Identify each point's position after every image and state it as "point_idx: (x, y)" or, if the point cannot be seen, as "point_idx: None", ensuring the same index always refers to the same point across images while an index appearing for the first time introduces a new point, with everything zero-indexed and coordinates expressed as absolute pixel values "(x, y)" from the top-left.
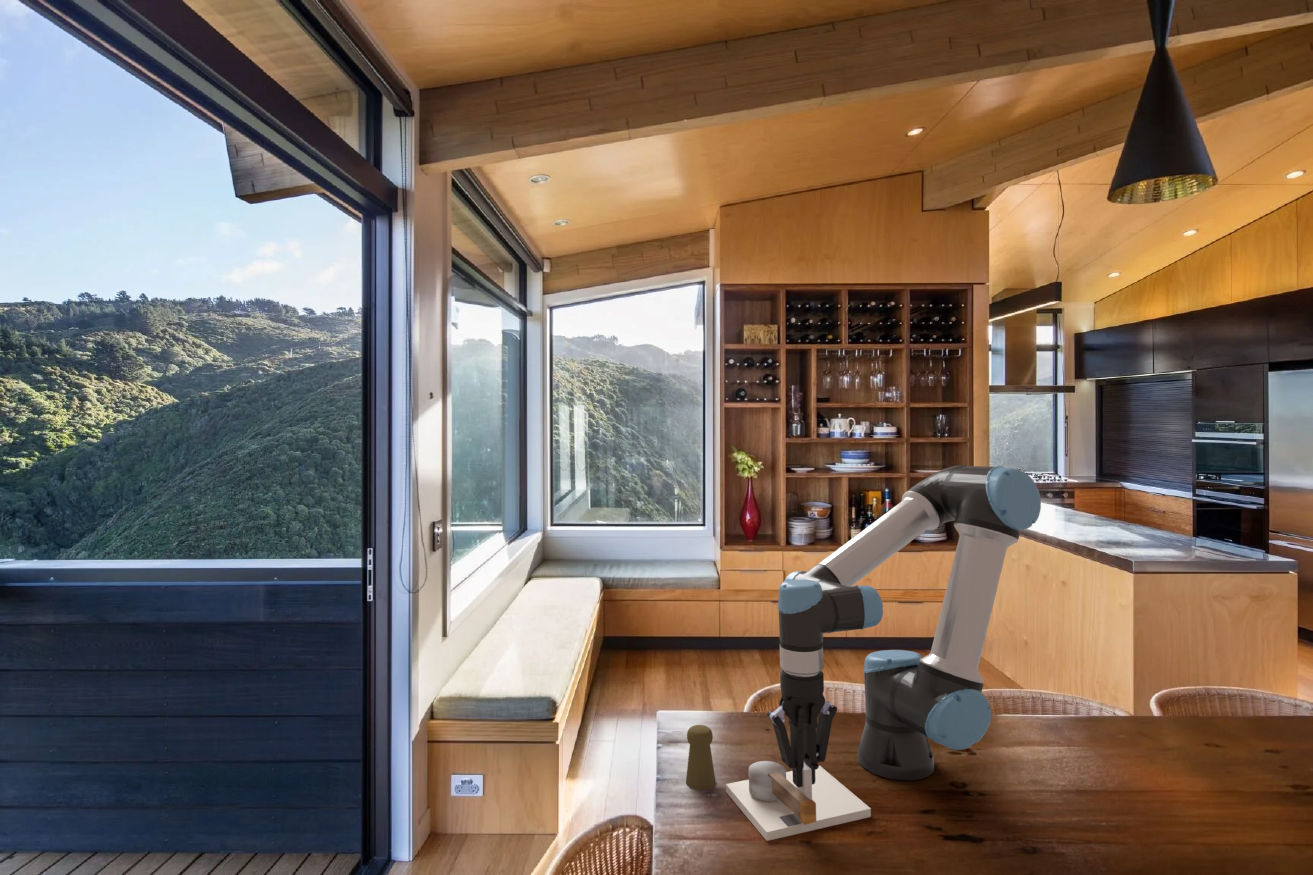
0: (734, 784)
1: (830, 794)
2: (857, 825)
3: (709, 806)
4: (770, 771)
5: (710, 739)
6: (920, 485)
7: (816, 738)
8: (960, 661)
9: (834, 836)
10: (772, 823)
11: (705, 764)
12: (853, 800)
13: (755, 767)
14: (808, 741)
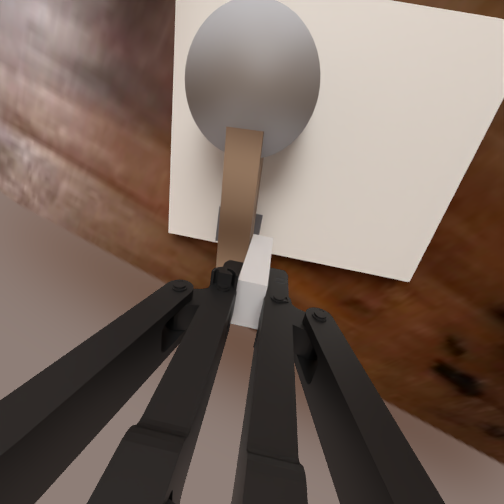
0: None
1: (392, 194)
2: (353, 278)
3: (115, 38)
4: (254, 103)
5: None
6: None
7: (328, 379)
8: None
9: (290, 278)
10: (194, 215)
11: None
12: (411, 242)
13: (223, 41)
14: (247, 403)
